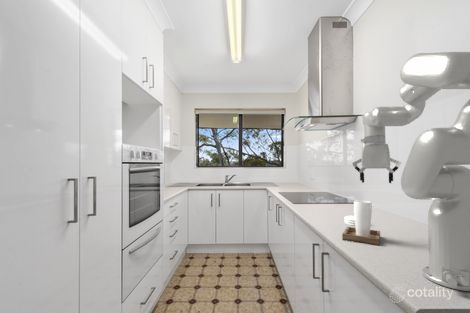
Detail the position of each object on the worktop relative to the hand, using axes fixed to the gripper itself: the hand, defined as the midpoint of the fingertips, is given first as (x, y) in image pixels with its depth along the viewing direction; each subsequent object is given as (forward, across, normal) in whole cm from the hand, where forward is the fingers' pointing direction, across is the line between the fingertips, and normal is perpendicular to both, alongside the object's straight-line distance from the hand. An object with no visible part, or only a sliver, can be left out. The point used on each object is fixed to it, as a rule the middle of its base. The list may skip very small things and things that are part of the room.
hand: (376, 182), depth 99 cm
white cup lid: (+24, -11, +26) cm, 37 cm away
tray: (+24, -6, +1) cm, 24 cm away
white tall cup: (+23, -6, +1) cm, 24 cm away
